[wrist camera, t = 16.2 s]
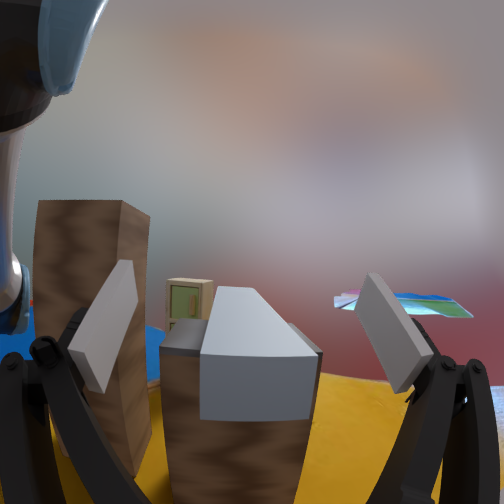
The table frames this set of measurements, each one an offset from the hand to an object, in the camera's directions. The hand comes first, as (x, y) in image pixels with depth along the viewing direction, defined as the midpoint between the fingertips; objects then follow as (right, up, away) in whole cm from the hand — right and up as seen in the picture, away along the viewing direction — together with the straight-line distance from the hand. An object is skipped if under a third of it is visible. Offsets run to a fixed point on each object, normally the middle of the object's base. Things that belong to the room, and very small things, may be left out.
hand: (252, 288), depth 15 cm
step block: (-2, -24, +8) cm, 26 cm away
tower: (-19, -23, +11) cm, 32 cm away
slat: (-1, -5, +8) cm, 9 cm away
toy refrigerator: (-13, -25, +38) cm, 48 cm away
